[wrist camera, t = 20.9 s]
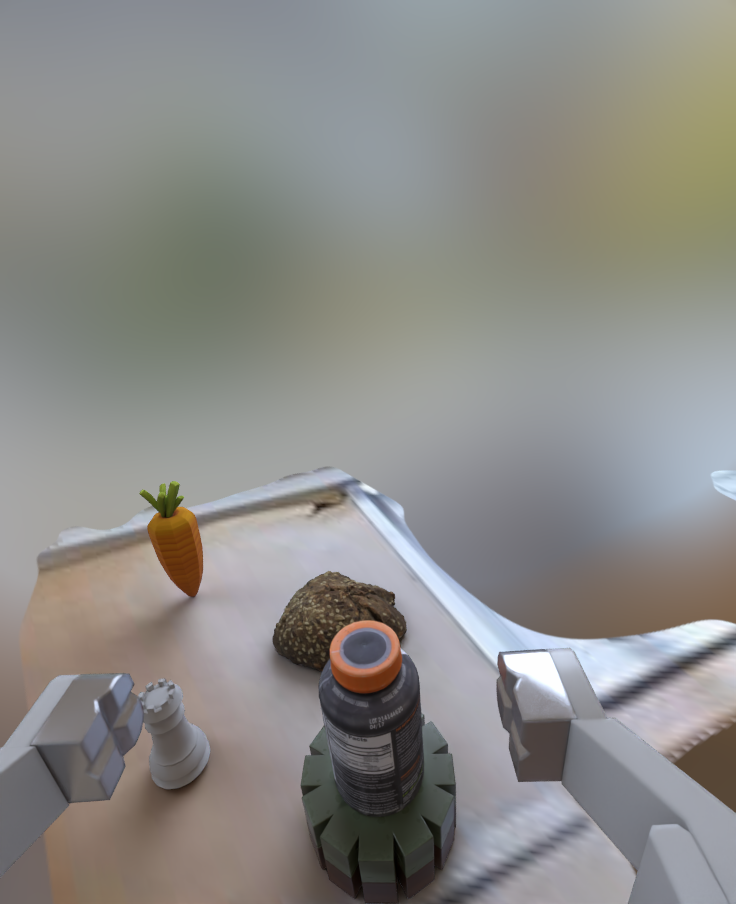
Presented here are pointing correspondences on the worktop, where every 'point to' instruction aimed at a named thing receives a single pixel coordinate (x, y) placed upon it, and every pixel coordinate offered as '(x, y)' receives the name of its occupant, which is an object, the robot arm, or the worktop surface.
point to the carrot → (176, 539)
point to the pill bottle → (372, 719)
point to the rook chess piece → (172, 737)
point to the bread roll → (330, 616)
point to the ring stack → (381, 826)
